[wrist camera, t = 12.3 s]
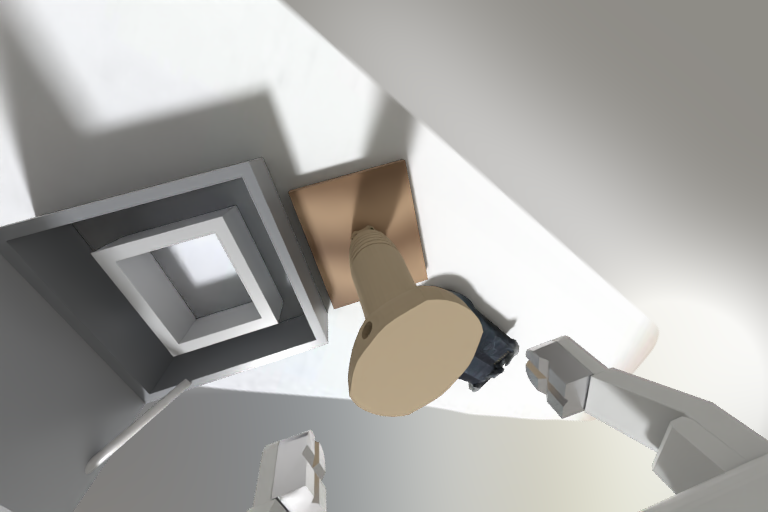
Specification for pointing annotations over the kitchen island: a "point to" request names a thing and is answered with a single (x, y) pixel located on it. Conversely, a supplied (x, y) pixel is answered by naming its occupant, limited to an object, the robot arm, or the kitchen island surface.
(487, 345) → the electronic device
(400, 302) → the handle
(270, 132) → the kitchen island surface
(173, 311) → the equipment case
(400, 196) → the walnut pad
